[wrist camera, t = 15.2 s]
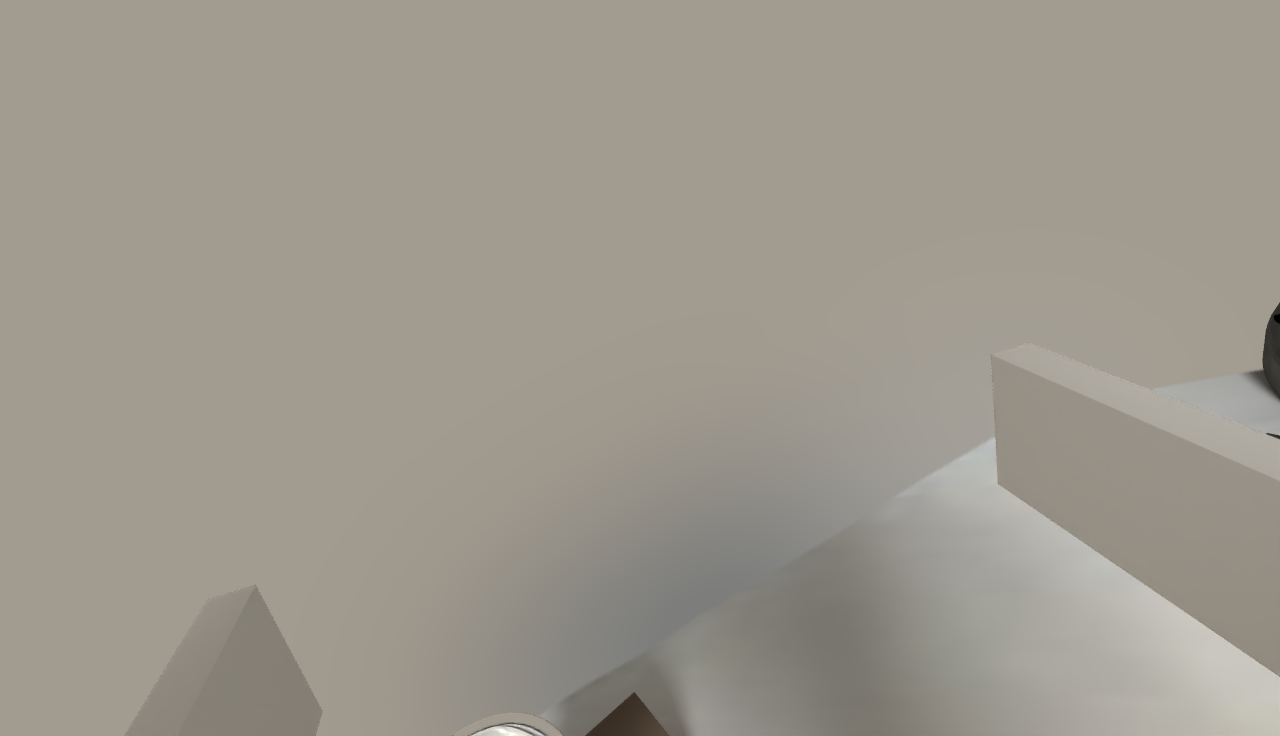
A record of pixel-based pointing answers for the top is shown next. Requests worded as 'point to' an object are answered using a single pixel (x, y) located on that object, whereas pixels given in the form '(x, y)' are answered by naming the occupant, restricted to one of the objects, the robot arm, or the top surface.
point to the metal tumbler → (510, 726)
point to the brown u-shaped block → (629, 721)
